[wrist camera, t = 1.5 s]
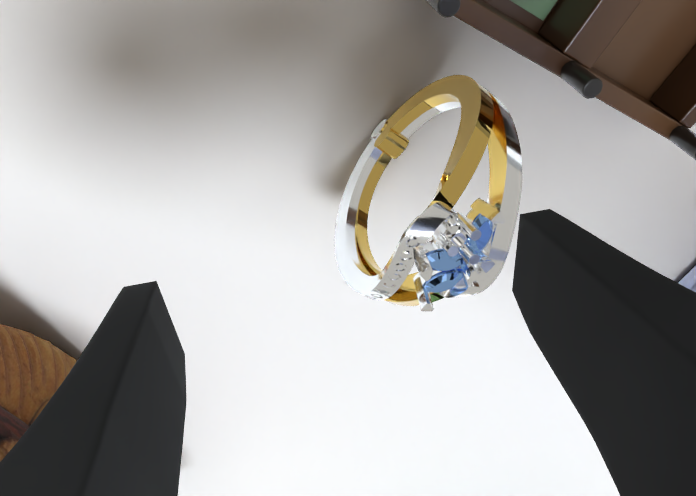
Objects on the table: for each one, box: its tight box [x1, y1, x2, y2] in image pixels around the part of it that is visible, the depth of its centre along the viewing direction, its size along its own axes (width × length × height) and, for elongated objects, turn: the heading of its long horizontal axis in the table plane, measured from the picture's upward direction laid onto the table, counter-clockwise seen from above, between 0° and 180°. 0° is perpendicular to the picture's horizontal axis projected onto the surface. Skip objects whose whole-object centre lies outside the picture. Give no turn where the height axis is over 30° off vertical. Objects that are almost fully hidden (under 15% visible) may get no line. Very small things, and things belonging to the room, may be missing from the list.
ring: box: [334, 75, 522, 311], centre depth 18 cm, size 7×3×8 cm, turn 141°
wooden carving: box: [0, 324, 77, 462], centre depth 22 cm, size 16×5×10 cm, turn 26°
